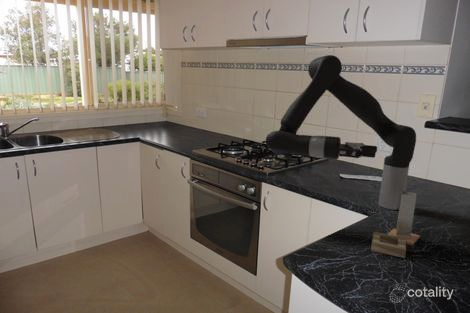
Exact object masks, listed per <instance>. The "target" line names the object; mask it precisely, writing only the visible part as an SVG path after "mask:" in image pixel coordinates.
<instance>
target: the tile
mask: <svg viewBox="0 0 470 313" xmlns="http://www.w3.org/2000/svg"><path fill="white" fill-rule="evenodd" d="M396 230H397V228H392V230H391V231H389V232H388V233H387V235H392V236H396ZM419 239H420V235H418V234H416V233H415V234H414V233H413V232H411V235H410V239H407V238H405V240H406V245H409V246H414V245H415V243H417V241H418V240H419Z"/></svg>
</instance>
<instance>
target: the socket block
mask: <svg viewBox="0 0 470 313" xmlns="http://www.w3.org/2000/svg"><path fill="white" fill-rule="evenodd" d="M372 234H373V235H372V242H371V247H370V248H371V249H370V251H371V252H373V253H380V254H384V255H389V256H393V257H399V258H402V259H405V258H406V252H407V244H406V240H405V238H403V237H398V236H392V235H387V234H388V233H387V234H386V233H380V232H376V231H374V232H373V233H372Z"/></svg>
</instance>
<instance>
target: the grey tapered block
mask: <svg viewBox="0 0 470 313" xmlns="http://www.w3.org/2000/svg"><path fill="white" fill-rule="evenodd" d="M416 202H417V193H416V192H412V191H402V195H401V202H400V209H399V210H398V217H397V223H396V229H397V230H396V236H398V237H403V238H407V239H410V235H411V233H412V228H413V222H414V215H415V209H416Z"/></svg>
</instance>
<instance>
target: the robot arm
mask: <svg viewBox="0 0 470 313" xmlns="http://www.w3.org/2000/svg"><path fill="white" fill-rule="evenodd" d="M307 68H308V69H307V71H308V75H309V78H310V79H311V81H310V82H309V84H308V85H307V87H306V88H305V89H304V90H303V91H302V92H301V93H300V94H299V95H297V97H296V98H295V100H293V102H292V103H291V104H290V105H289V107H288V109H286V111H285V112H284V115H283V116H282V117H281V120H280V127H279V130H274V131H271V132H269V133H268V134H267V136H266V137H265V144H266V146H267V149H269V150H270V151H272V153H273V154H275V155H276V156H282V155H284V154H286V153H287V152H289V153H293V154H294V155H295V154H296V155H297V156H303V157H304V156H306V157H312V158H313V157H314V158H318V159H327V160H328V159H329V160H338V159H339V157H346V158H353V159H359V158H362V157H363V158H372V159H373V158H375V157H376V153H377V152H378V146H377V145H368V144H364V143H363V142H360V143H359V142H348V141H345V143H341V142H342V141H341V137H340V136H331V135H330V136H329V135H306V134H297V132H298V131H299V129H300V128H301V126H302V125H303V123H304V121H305V120H306V119H307V117H308V115H309V113H310V112H311V111H312V109H313V108H314V107H315V105H316V104H317V103H318V101H319V100H320V99H321V97H322V96H324V94H325V93H326V91H328V92H329V93H330V94H332V95H333V97H335V98H336V99H337V100H338V101H339V102H340V103H341V104H342V105H344V107H346V109H348V110H349V111H350V112H351V113H353V115H354V116H355V117H357V118H358V119H359V120H360V121H362V122H363V123H364V124H365V125H367V126H368V127H370V128H371V129H372V130H373V132H375V133H376V134H377V135H378V137H379V138H380V139H381V140H382V141H383V142H384V143H385V144H386V145H388V146H389V147H392V151H391V154H390V155H388V156H385V157H384V160H383V169H382V176H381V183H380V191H379V198H378V206H379V207H381V208H384V209H388V210H395V211H399V209H400V202H401V195H402V191H406V188H407V184H408V177H409V176H408V175H409V169H410V164H411V162H412V160H413V158H414V152H415V148H416V144H417V133H416V131H415V129H414V128H413V127H411V126H409V125H408V126H407V125H403V124H398V123H396V122H394V121H393V120H392V119H390V118H389V117H388V116H387V115H386V114H385V113H384V110H383V109H382V106H381V104H380V102H379V101H378V99H377V98H376V97H374V96H373V95H372V94H371V92H369V91H367V90H366V89H365V88H363V87H362V86H359V85H357V84H355V83H353V82H352V81H349V80H347V79H345V78H344V77H343V76H341V73H342V62H341V60H340V58H339V57H337V56H335V55H333V54H328V55H323V56H319V57H316V58H314V59H312V60H311V61H310V62H309V65H308V67H307ZM406 192H407V191H406Z"/></svg>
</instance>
